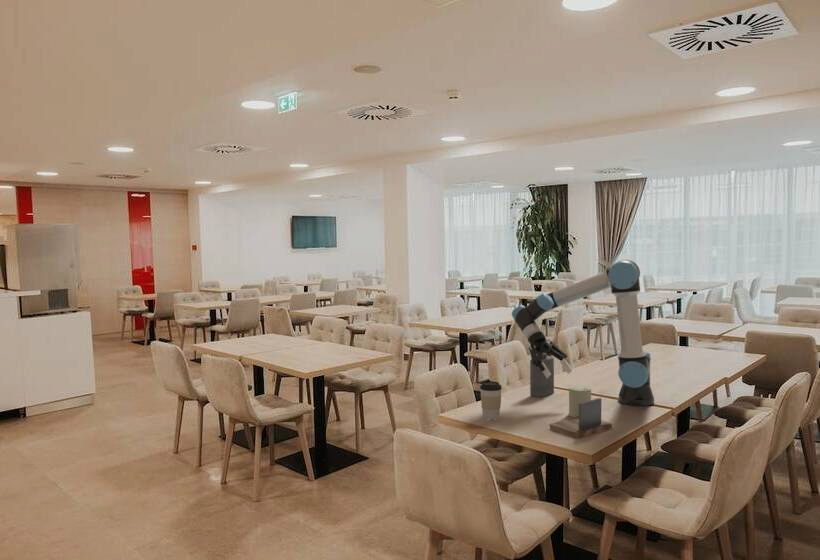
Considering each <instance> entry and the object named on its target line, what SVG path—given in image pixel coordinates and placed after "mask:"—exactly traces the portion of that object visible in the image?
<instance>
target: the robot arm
mask: <svg viewBox="0 0 820 560" xmlns="http://www.w3.org/2000/svg"><path fill="white" fill-rule="evenodd" d="M640 276H641V270H640V267H639V265H637V263H636V262H635V261H633V260H631V259H623V260H618V261H616V262H615V263H613V264H612V265H611V266H610V267H607V268H605V270H604V271H603V272H601V273H599V274H596V275H593V276H590V277H589V278H585V279H583V280H581V281H580V280H579V281H577V282H575V283H572V284H570V285H568V286H565V287H562V288H559V289H558V290H555V291H552V292H549V293H546V292H543V293H541V294H539V295H538V296H536V298H535V299H534V300H532V301H531V302H530V303H528V304H527V305H526V306H525V305H519V306H517V307H515V308H514V309H512V312H511V316H512V318H513V321H514V322H515V323H516V325H517V326H518V327H519V329H520V331H521V332H522V334H523V335H524V337H525V338H526V340H527V342H528V344H529V346H528V350H529V353H530V358H531V359H532V364H533V365H535V366H536V367H539V368H540V370H541V371H542V372H543V373H544V375H545V376H546V378H548V377H549V376H550V375H551V373H550V372H549V370H548V369H547V367H546V366H545V364H544V362H542V363H541V361H542V354H543V353H546V354H547V355H551V356H552V357H554V358H555V359H558V360H559V362H560V364H561V365H562V367H563V368H564V370H565V372H566V373H567V375H569V374H570V373H572V372H573V369H572V367H571V366H570V363H569V362H568V360H567V359H566V358H567V357H568V354H566V353H565V352H564V350H562V349H560V347H558V346H557V345H556V344H555V343H554V342H553V341H552V340H551V341H549V342H547V340H546V339H547V338H546V335H544V333H543V332H542V330H541V328H540V327H539V325H538V324H537V322H536V320H538V318H540V317H541V316H543V315H544V314H545V313H547V312H549V311H551V310H554V309H556V308H558V307H562V306H564V305H567V304H570V303H573V302H575V301H578V300H581V299H583V298H586V297H589V296H591V295H594V294H597V293H599V292H603V291H605V290H608V289H611V290H610V291H611V294H612V295H613V296H615V302H616V310H617V311H616V313H617V322H618V332H619V342H620V352H619V354H618V355H617V358H618V372H617V375H618V378H619V380H620V381H621V383H622V384H621V387H620V390H619V392H618V393H619V394H618V402H620V404H621V403H622V404H625V405H629V406H635V407H637V406H638V407H643V406H651V405H654V404H655V397H654V394H653V391H652V387H651V360H652V359H651V353H649V352H648V351H644V350H643V341H642V334H641V333H642V332H641V322H640V313H639V312H640V311H639V302H638V301H639V300H638V294H639V293H640V292H641V285H640ZM531 359H530V360H531ZM653 403H654V404H653Z"/></svg>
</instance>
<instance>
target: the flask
mask: <svg viewBox="0 0 820 560" xmlns="http://www.w3.org/2000/svg"><path fill="white" fill-rule="evenodd" d="M542 362H544V364H545V366H546V367H547V369H548V370H549V372H550V373H551V375H550V376H549V377H548V378H546V376H545V375H544V373H543V372H542V371H541V370H540V368H539V367H536V366H535V365H533V364H532V359H530V360H529V372H530V373H529V374H530V375H529V377H530V378H529V379H530V380H529V383H530V384H529V385H530V386H529V388H530V389H529V390H530V392H529V393H530V397H531V398H534V397H535V398H537V399H539V398H544V396H545V397H548V396H551V395H553V394H554V393H555V357H554V356H552V355H551V356H549V355H548V353H543V354H542V361H541V363H542Z"/></svg>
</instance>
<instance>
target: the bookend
mask: <svg viewBox="0 0 820 560" xmlns="http://www.w3.org/2000/svg"><path fill="white" fill-rule="evenodd" d="M601 420H602V398H601V397H598V398H595V399H594V398H593V399H591V400H590V401H586V402H582V403H579V429H580V430H583V431H588V430H591V429H594V428H598V427H601V426H604V425H606V424H604V423H601Z"/></svg>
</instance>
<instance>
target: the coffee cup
mask: <svg viewBox="0 0 820 560" xmlns="http://www.w3.org/2000/svg"><path fill="white" fill-rule="evenodd" d="M479 389H480V404H481V409H482V418H483V419H484V420H487V419H496V420H499V419H500V415H501V414H500V412H501V404H502V403H501V402H502V389H503V387H502V384H500V383H499V382H498V381H493V380H485V381H484V382H482V384H481V385H479ZM498 418H499V419H498Z"/></svg>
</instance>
